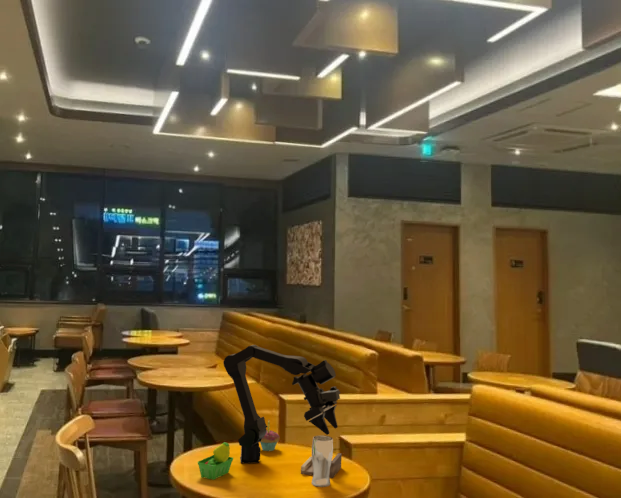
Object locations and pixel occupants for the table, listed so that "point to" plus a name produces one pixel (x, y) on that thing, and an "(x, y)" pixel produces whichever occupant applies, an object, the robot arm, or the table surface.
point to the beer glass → (321, 460)
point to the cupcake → (269, 440)
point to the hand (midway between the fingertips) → (332, 431)
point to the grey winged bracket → (334, 468)
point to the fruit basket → (216, 463)
